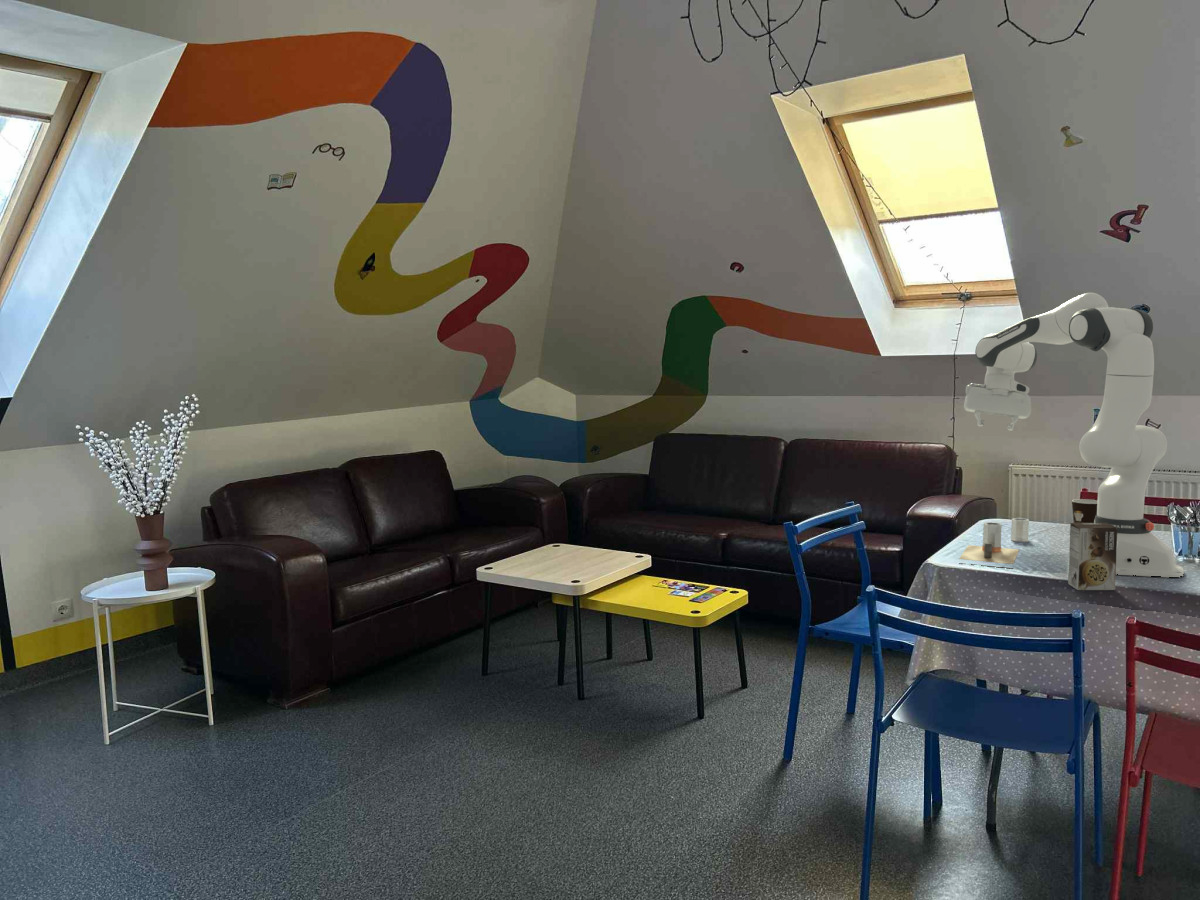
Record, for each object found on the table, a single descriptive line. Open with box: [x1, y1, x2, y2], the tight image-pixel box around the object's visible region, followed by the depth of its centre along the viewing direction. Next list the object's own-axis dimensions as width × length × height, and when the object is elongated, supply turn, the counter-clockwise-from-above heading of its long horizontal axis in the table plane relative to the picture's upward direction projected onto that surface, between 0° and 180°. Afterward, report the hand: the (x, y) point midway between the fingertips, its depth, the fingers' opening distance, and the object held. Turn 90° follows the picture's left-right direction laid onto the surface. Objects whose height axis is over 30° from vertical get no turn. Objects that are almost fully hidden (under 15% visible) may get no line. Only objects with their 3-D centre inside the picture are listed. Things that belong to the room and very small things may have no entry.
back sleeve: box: [981, 521, 1002, 553], centre depth 265 cm, size 5×5×8 cm
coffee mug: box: [1071, 498, 1098, 523], centre depth 296 cm, size 12×9×10 cm
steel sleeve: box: [1010, 517, 1030, 543], centre depth 279 cm, size 5×5×8 cm
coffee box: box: [1067, 522, 1117, 591], centre depth 229 cm, size 9×6×16 cm
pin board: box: [958, 543, 1020, 570], centre depth 261 cm, size 14×20×6 cm
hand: (995, 428), depth 292 cm, fingers open, 8 cm apart
